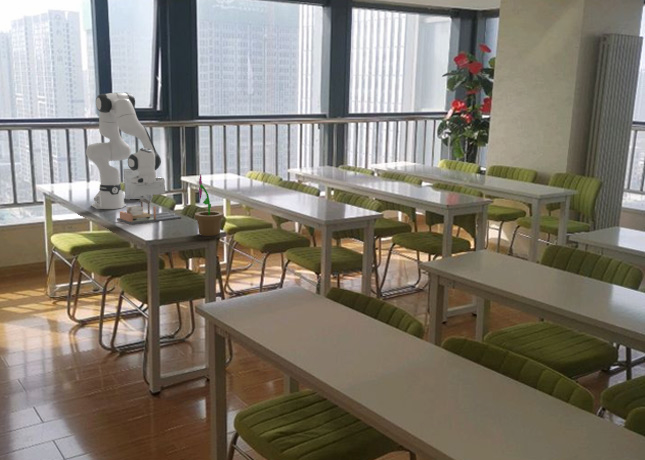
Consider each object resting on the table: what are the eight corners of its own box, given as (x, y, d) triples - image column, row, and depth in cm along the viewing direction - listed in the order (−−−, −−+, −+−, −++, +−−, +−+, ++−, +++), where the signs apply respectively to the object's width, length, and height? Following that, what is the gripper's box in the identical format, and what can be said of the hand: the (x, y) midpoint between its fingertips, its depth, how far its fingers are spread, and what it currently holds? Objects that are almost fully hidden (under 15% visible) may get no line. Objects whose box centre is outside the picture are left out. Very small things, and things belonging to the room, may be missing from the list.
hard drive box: (152, 198, 462) (150, 167, 458) (148, 200, 455) (146, 169, 451) (128, 197, 464) (127, 167, 459) (124, 199, 456) (123, 168, 452)
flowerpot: (196, 230, 363) (195, 172, 357) (224, 230, 364) (223, 172, 358) (193, 236, 349) (192, 176, 343) (222, 236, 350) (221, 176, 344)
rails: (122, 219, 385) (122, 217, 385) (168, 213, 404) (168, 211, 403) (129, 221, 380) (129, 219, 379) (175, 215, 398) (175, 213, 398)
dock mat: (117, 219, 388) (116, 218, 388) (165, 213, 408) (165, 212, 408) (131, 224, 376) (131, 222, 376) (181, 218, 395) (181, 216, 395)
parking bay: (118, 218, 388) (117, 205, 387) (142, 215, 397) (142, 202, 396) (131, 222, 376) (131, 209, 375) (156, 219, 386) (156, 206, 385)
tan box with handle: (124, 217, 387) (123, 200, 385) (142, 215, 394) (141, 198, 392) (132, 220, 380) (131, 202, 378) (151, 218, 387) (150, 200, 385)
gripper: (161, 176, 396) (162, 200, 399) (127, 179, 383) (128, 204, 386) (167, 177, 392) (168, 202, 394) (133, 180, 378) (134, 205, 381)
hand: (148, 203), depth 390 cm, fingers closed
